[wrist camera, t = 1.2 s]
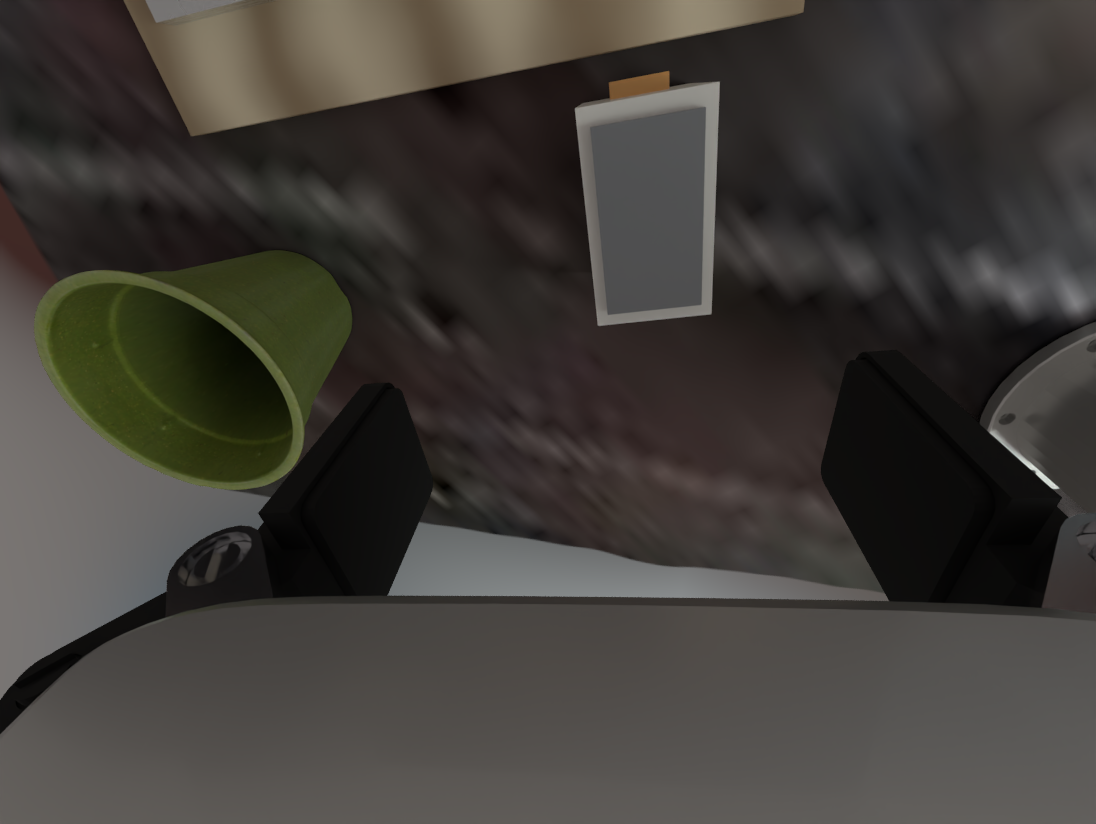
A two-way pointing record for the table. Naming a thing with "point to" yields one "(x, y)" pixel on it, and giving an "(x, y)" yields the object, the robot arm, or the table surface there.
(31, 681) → the robot arm
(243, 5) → the rail
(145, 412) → the plant pot
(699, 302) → the box
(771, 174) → the table surface
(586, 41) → the rail board
